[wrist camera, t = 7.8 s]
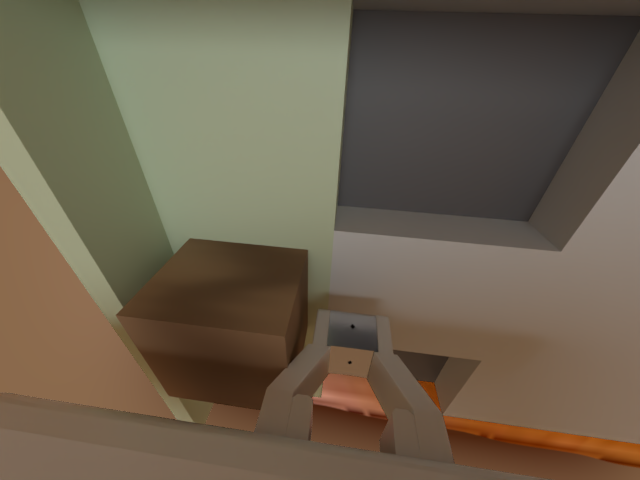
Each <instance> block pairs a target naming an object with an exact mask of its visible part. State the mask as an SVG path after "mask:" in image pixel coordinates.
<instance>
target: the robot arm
mask: <svg viewBox="0 0 640 480" xmlns="http://www.w3.org/2000/svg"><path fill="white" fill-rule="evenodd" d="M328 373H334V374H343V375H350V376H357V377H363V378H367V380H368V382H369V384H370V386H371V388H372V390H373V392H374V393H375V395H376V397H377V399H378V401H379V403H380V405H381V407H382V409H383V411H384V412H385V414H386V416H387V418H388V423H387V425H386V427H385V429H384V431H383V433H382V436H381V438H380V440H379V441H380V452H376V451H370V450H363V449H357V448H351V447H345V446H338V445H332V444H326V443H320V442H313V441H311V432H312V411H313V400H312V399H311V398H312V397H313V395H314V394H315V392H316V391H317V390H318V388H319V387H320V385H321V384H322V382H323V381H324V379H325V378H326V377H327V375H328ZM0 480H552V479H545V478H539V477H533V476H527V475H520V474H514V473H508V472H501V471H495V470H489V469H483V468H476V467H469V466H464V465H458V464H455V463H454V459H453V455H452V451H451V446H450V442H449V438H448V434H447V430H446V426H445V422H444V418H443V414H442V413H441V411H440V410H439V409H438V407H437V406H436V405H435V404H434V402H433V401H432V400H431V398H430V397H429V396H428V394H427V393H426V392H425V390H424V389H423V388H422V386H421V385H420V384H419V383H418V381H417V380H416V379H415V377H414V376H413V375H412V373H411V372H410V371H409V369H408V368H407V367H406V365H405V364H404V363H403V362H402V360H401V359H400V358H399V356H398V355H395V354H393V346H392V338H391V331H390V323H389V318H388V317H386V316H377V315H370V314H361V313H348V312H341V311H334V310H331V312H330V310H326V309H318V311H317V317H316V323H315V330H314V336H313V342H312V344H308V345H307V346H306V347H305V348H304V349H303V350H302V351H301V352H300V353H299V354H298V355H297V356H296V357H295V359H294V360H293V361H292V362H291V363H290V364H289V365H288V368H285V369H284V370H283V371H282V372H281V373H280V375H279V376H278V377H277V378H276V379H275V380H274V381H273V382H272V383H271V384H270V385H269V386H268V387H267V389H266V393H265V396H264V400H263V403H262V407H261V410H260V414H259V417H258V421H257V424H256V428H255V431H254V432H250V431H244V430H238V429H232V428H225V427H218V426H213V425H206V424H200V423H194V422H187V421H181V420H175V419H169V418H162V417H156V416H150V415H143V414H137V413H130V412H125V411H118V410H112V409H106V408H99V407H93V406H86V405H80V404H74V403H68V402H61V401H55V400H48V399H42V398H36V397H30V396H24V395H18V394H13V393H0Z"/></svg>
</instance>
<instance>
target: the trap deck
mask: <svg viewBox="0 0 640 480" xmlns="http://www.w3.org/2000/svg"><path fill="white" fill-rule="evenodd" d="M0 166H1V168H2V169H3V170H4V172H5V173H6V175H7V176H8V178H9V179H10V180H11V182H12V183H13V185H14V186H15V188H16V189H17V191H18V192H19V193H20V195H21V196H22V198H23V199H24V201H25V202H26V203H27V205H28V206H29V208H30V209H31V210H32V212H33V214H34V215H35V216H36V218H37V219H38V221H39V222H40V224H41V225H42V226H43V228H44V229H45V230H46V232H47V233H48V235H49V236H50V238H51V239H52V241H53V242H54V243H55V245H56V247H57V248H58V249H59V251H60V252H61V254H62V255H63V256H64V258H65V259H66V261H67V262H68V264H69V265H70V267H71V268H72V269H73V271H74V272H75V274H76V275H77V277H78V278H79V279H80V281H81V282H82V284H83V285H84V287H85V288H86V290H87V291H88V292H89V294H90V295H91V297H92V298H93V299H94V301H95V303H96V304H97V305H98V307H99V308H100V310H101V311H102V313H103V314H104V315H105V317H106V318H107V320H108V321H109V323H110V324H111V325H112V327H113V328H114V330H115V331H116V333H117V334H118V336H119V337H120V338H121V340H122V341H123V343H124V344H125V346H126V347H127V348H128V350H129V351H130V353H131V354H132V356H133V357H134V358H135V360H136V361H137V363H138V364H139V366H140V367H141V369H142V370H143V371H144V373H145V374H146V376H147V377H148V378H149V380H150V381H151V383H152V384H153V386H154V387H155V389H156V390H157V391H158V393H159V394H160V396H161V397H162V398H163V400H164V401H165V403H166V404H167V406H168V407H169V409H170V410H171V412H172V413H173V415H174V416H175V417H176V419H177V420H181V421H187V422H194V423H200V424H205V423H206V420H207V418H208V416H209V413H210V411H211V409H212V406H213V404H214V403H210V402H204V401H197V400H191V399H184V398H177V397H171V396H168V394H167V393H166V391H165V390H164V388H163V387H162V385H161V384H160V382H159V380H158V379H157V377H156V376H155V374H154V373H153V371H152V370H151V368H150V367H149V365H148V364H147V362H146V361H145V359H144V358H143V356H142V355H141V353H140V352H139V350H138V349H137V347H136V346H135V344H134V343H133V341H132V340H131V338H130V337H129V335H128V334H127V332H126V331H125V329H124V328H123V326H122V325H121V323H120V321H119V320H118V318H117V317H116V314H117V313H118V312H119V311H120V310H121V309H122V308H123V307H124V306H125V305H126V304H127V303H128V302H129V301H130V300H131V299H132V298H133V297H134V296H135V295H136V293H137V292H138V291H139V290H140V289H141V288H142V287H143V286H144V285H145V284H146V283H147V282H148V281H149V280H150V279H151V278H152V277H153V276H154V275H155V274H156V273H157V272H158V271H159V270H160V269H161V268H162V267H163V266H164V264H165V263H166V262H167V261H168V260H169V259H170V258H171V257H172V256H173V255H174V254H175V253H176V252H177V251H178V250H179V249H180V248H181V247H182V246H183V245H184V244H185V243H186V242H187V241H188V240H189V239H190V238H193V239H204V240H214V241H224V242H234V243H244V244H255V245H265V246H275V247H285V248H296V249H306V250H308V328H307V333H306V339H305V344H304V348H305V347H306V346H307V345H308V344H312V342H313V336H314V330H315V323H316V317H317V311H318V309H326V310H330V312H331V310H334V311H341V312H348V313H361V314H370V315H377V316H386V317H388V318H389V323H390V331H391V338H392V346H393V354H395V355H398V356H399V358H400V359H401V360H402V362H403V363H404V364H405V365H406V367H407V368H408V369H409V371H410V372H411V373H412V375H413V376H414V377H415V379H416V380H420V381H427V382H434V383H435V387H436V391H437V395H438V400H439V404H440V408H441V412H442V414H443V415H444V416H451V417H458V418H465V419H472V420H478V421H485V422H492V423H499V424H506V425H513V426H520V427H526V428H533V429H540V430H547V431H554V432H561V433H567V434H574V435H581V436H588V437H595V438H602V439H608V440H615V441H622V442H629V443H636V444H640V0H0ZM322 385H323V382H322V384H321V385H320V387H319V388H318V390H317V391H316V392H315V394H314V395H313V396H314V397H321V395H322Z"/></svg>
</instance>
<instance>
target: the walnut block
mask: <svg viewBox="0 0 640 480" xmlns="http://www.w3.org/2000/svg"><path fill="white" fill-rule="evenodd" d="M116 317H117V318H118V320H119V321H120V323H121V325H122V326H123V328H124V329H125V331H126V332H127V334H128V335H129V337H130V338H131V340H132V341H133V343H134V344H135V346H136V347H137V349H138V350H139V352H140V353H141V355H142V356H143V358H144V359H145V361H146V362H147V364H148V365H149V367H150V368H151V370H152V371H153V373H154V374H155V376H156V377H157V379H158V380H159V382H160V384H161V385H162V387H163V388H164V390H165V391H166V393H167V394H168V396H171V397H177V398H184V399H191V400H197V401H204V402H210V403H217V404H224V405H231V406H237V407H243V408H250V409H256V410H261V407H262V403H263V400H264V396H265V393H266V389H267V387H268V386H269V385H270V384H271V383H272V382H273V381H274V380H275V379H276V378H277V377H278V376H279V375H280V373H281V372H282V371H283V370H284V369H285V368H288V365H289V364H290V363H291V362H292V361H293V360H294V359H295V357H296V356H297V355H298V354H299V353H300V352H301V351H302V350H303V349H304V344H305V339H306V333H307V328H308V250H306V249H296V248H285V247H275V246H265V245H255V244H244V243H234V242H224V241H214V240H204V239H193V238H190V239H189V240H188V241H187V242H186V243H185V244H184V245H183V246H182V247H181V248H180V249H179V250H178V251H177V252H176V253H175V254H174V255H173V256H172V257H171V258H170V259H169V260H168V261H167V262H166V263H165V264H164V266H163V267H162V268H161V269H160V270H159V271H158V272H157V273H156V274H155V275H154V276H153V277H152V278H151V279H150V280H149V281H148V282H147V283H146V284H145V285H144V286H143V287H142V288H141V289H140V290H139V291H138V292H137V293H136V295H135V296H134V297H133V298H132V299H131V300H130V301H129V302H128V303H127V304H126V305H125V306H124V307H123V308H122V309H121V310H120V311H119V312H118V313H117V314H116Z"/></svg>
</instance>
